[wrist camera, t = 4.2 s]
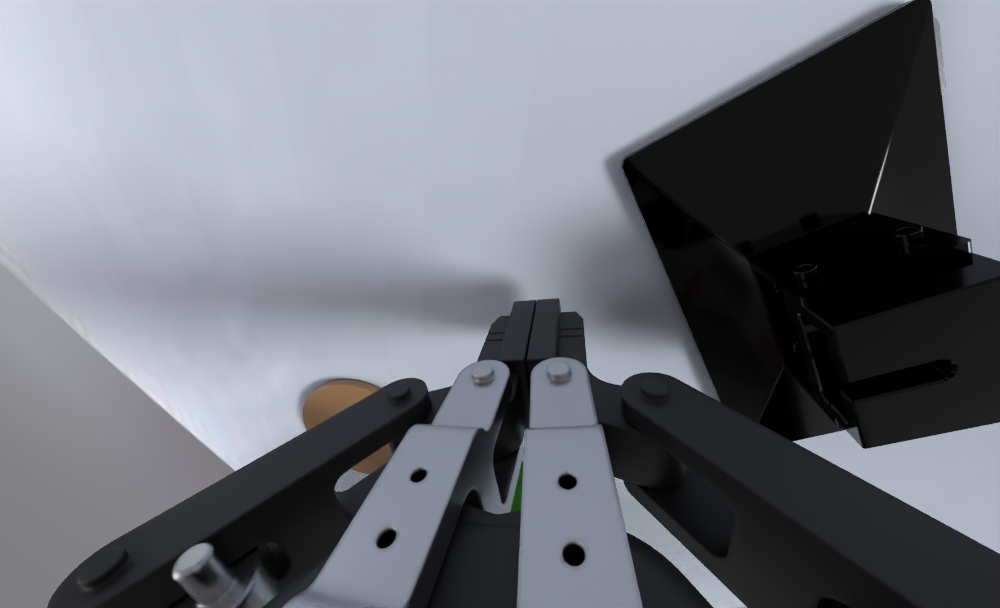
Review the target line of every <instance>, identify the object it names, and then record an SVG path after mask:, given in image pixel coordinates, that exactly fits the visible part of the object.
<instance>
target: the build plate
mask: <svg viewBox="0 0 1000 608" xmlns="http://www.w3.org/2000/svg"><path fill="white" fill-rule="evenodd" d="M945 87H946V85H945V75H944V66H943V57H942V47H941V38H940V28H939V22H938V20H937V19H935V18H934V17H933V13H932V4H931V1H930V0H912V1H909V2H907V3H905V4H903V5H901V6H899V7H897V8H895V9H893V10H892V11H890V12H888V13H886V14H884V15H883V16H881V17H879V18H877V19H875V20H873V21H872V22H870V23H868V24H866V25H864V26H862V27H861V28H859V29H857V30H855V31H853V32H852V33H850V34H848V35H846V36H844V37H842V38H841V39H839V40H837V41H835V42H833V43H831V44H830V45H828V46H826V47H824V48H822V49H821V50H819V51H817V52H815V53H813V54H811V55H810V56H808V57H806V58H804V59H802V60H800V61H799V62H797V63H795V64H793V65H791V66H790V67H788V68H786V69H784V70H782V71H780V72H779V73H777V74H775V75H773V76H771V77H769V78H768V79H766V80H764V81H762V82H760V83H759V84H757V85H755V86H753V87H751V88H749V89H748V90H746V91H744V92H742V93H740V94H738V95H737V96H735V97H733V98H731V99H729V100H728V101H726V102H724V103H722V104H720V105H718V106H717V107H715V108H713V109H711V110H709V111H707V112H706V113H704V114H702V115H700V116H698V117H697V118H695V119H693V120H691V121H689V122H687V123H686V124H684V125H682V126H680V127H678V128H676V129H675V130H673V131H671V132H669V133H667V134H666V135H664V136H662V137H660V138H658V139H656V140H655V141H653V142H651V143H649V144H647V145H645V146H644V147H642V148H640V149H638V150H636V151H635V152H633V153H631V154H629V155H627V156H626V157H624V159H623V160H622V162H621V169H622V171H623V173H624V176H625V178H626V181H627V183H628V185H629V188H630V190H631V192H632V195H633V197H634V200H635V202H636V204H637V207H638V209H639V211H640V214H641V216H642V219H643V221H644V223H645V226H646V228H647V230H648V233H649V235H650V238H651V240H652V242H653V245H654V247H655V249H656V252H657V254H658V257H659V259H660V261H661V264H662V266H663V268H664V271H665V273H666V276H667V278H668V280H669V283H670V285H671V287H672V290H673V292H674V294H675V297H676V299H677V302H678V304H679V306H680V309H681V311H682V313H683V316H684V318H685V321H686V323H687V325H688V328H689V330H690V332H691V335H692V337H693V340H694V342H695V344H696V347H697V349H698V351H699V354H700V356H701V359H702V361H703V363H704V366H705V368H706V370H707V373H708V375H709V378H710V380H711V382H712V385H713V387H714V389H715V392H716V394H717V397H718V399H719V401H720V403H722V404H724V405H726V406H728V407H729V408H731V409H733V410H735V411H737V412H739V413H741V414H742V415H744V416H746V417H748V418H750V419H752V420H753V421H755V422H757V423H759V424H761V425H763V426H764V427H766V428H768V429H770V430H772V431H774V432H776V433H777V434H779V435H781V436H783V437H785V438H787V439H788V440H790V441H796V440H801V439H805V438H810V437H814V436H819V435H824V434H828V433H833V432H837V431H842V430H846V431H847V432H848V433H849V434H850V435H851V436H852V437H853V438H854V439H855V440H856V441H857V442H858V444H859V445H860V446H861V447H862V448H865V449H867V448H872V447H877V446H882V445H887V444H892V443H897V442H902V441H907V440H912V439H917V438H922V437H927V436H932V435H937V434H942V433H948V432H953V431H958V430H963V429H968V428H973V427H978V426H983V425H988V424H993V423H998V422H1000V261H997V260H994V259H990V258H987V257H984V256H981V255H977V254H974V253H972V245H971V239H969V238H965V237H961V236H958V235H957V229H956V220H955V211H954V202H953V193H952V184H951V175H950V166H949V157H948V148H947V139H946V130H945V121H944V112H943V103H942V94H943V92H944V90H945Z"/></svg>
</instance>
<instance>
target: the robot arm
mask: <svg viewBox="0 0 1000 608" xmlns="http://www.w3.org/2000/svg"><path fill="white" fill-rule="evenodd" d="M524 430H525V435H524ZM523 437H524V448H523ZM386 444H388V446H389V448H390V451H391V453H392V457H391V459H390V460H389V461H388V462H387V463H385V464H384V465H382V466H381V467H380V468H378V469H377V470H375V471H374V472H372V473H371V474H370V475H368V476H367V477H365V478H364V479H362V480H361V481H360V482H358V483H357V484H355V485H354V486H353V487H351V488H350V489H348V490H346V491H343V492H336V491H334V488H335V484H336V482H337V480H338V479H339V478H340V476H341V475H342V474H344V473H345V472H346V471H348V470H349V469H351V468H352V467H354V466H355V465H357V464H358V463H360V462H361V461H363V460H364V459H366V458H367V457H369V456H370V455H372V454H373V453H375V452H376V451H378V450H379V449H381V448H382V447H383V446H385V445H386ZM523 454H524V456H523ZM522 459H523V479H522V501H521V510H519V511H514V512H510V511H511V507H512V502H513V498H514V494H515V489H516V485H517V480H518V476H519V472H520V467H521V463H522ZM614 477H616V478H619V479H622V480H623V481H624V484H625V487H626V488H627V490H628V491H629V493H630V494H631V495H632V496H633V497H634V498H635V499H636V500H637V501H638V502H639V503H640V504H641V505H642V506H644V507H645V508H646V509H647V510H648V511H649V512H650V513H651V514H652V515H653V516H654V517H655V518H656V519H657V520H658V521H659V522H660V523H661V524H662V525H663V526H664V527H665V528H666V529H667V530H668V531H669V532H670V533H671V534H672V535H673V536H674V537H675V538H677V539H678V540H679V541H680V542H681V543H682V544H683V545H684V546H685V547H686V548H687V549H688V550H689V551H690V552H691V553H692V554H693V555H694V556H695V557H696V558H697V559H698V560H699V561H700V562H701V563H702V564H703V565H704V566H705V567H706V568H707V569H709V570H710V571H711V572H712V573H713V574H714V575H715V576H716V577H717V578H718V579H719V580H720V581H721V582H722V583H723V584H724V585H725V586H726V587H727V588H728V589H729V590H730V591H731V592H732V593H733V594H734V595H735V596H736V597H737V598H738V599H739V600H741V601H742V602H743V603H744V604H745V605H746V606H747V607H748V608H1000V554H999V553H997V552H995V551H993V550H991V549H990V548H988V547H986V546H984V545H982V544H980V543H979V542H977V541H975V540H973V539H971V538H969V537H967V536H966V535H964V534H962V533H960V532H958V531H956V530H955V529H953V528H951V527H949V526H947V525H945V524H943V523H942V522H940V521H938V520H936V519H934V518H932V517H931V516H929V515H927V514H925V513H923V512H921V511H919V510H918V509H916V508H914V507H912V506H910V505H908V504H907V503H905V502H903V501H901V500H899V499H897V498H895V497H894V496H892V495H890V494H888V493H886V492H884V491H883V490H881V489H879V488H877V487H875V486H873V485H871V484H870V483H868V482H866V481H864V480H862V479H860V478H859V477H857V476H855V475H853V474H851V473H849V472H848V471H846V470H844V469H842V468H840V467H838V466H836V465H835V464H833V463H831V462H829V461H827V460H825V459H824V458H822V457H820V456H818V455H816V454H814V453H812V452H811V451H809V450H807V449H805V448H803V447H801V446H800V445H798V444H796V443H794V442H792V441H790V440H788V439H787V438H785V437H783V436H781V435H779V434H777V433H776V432H774V431H772V430H770V429H768V428H766V427H764V426H763V425H761V424H759V423H757V422H755V421H753V420H752V419H750V418H748V417H746V416H744V415H742V414H741V413H739V412H737V411H735V410H733V409H731V408H729V407H728V406H726V405H724V404H722V403H720V402H718V401H717V400H715V399H713V398H711V397H709V396H707V395H705V394H704V393H702V392H700V391H698V390H696V389H694V388H693V387H691V386H689V385H687V384H685V383H683V382H681V381H680V380H678V379H676V378H674V377H671V376H668V375H665V374H661V373H651V372H649V373H640V374H636V375H633V376H631V377H629V378H628V379H626V380H625V381H624V383H623V384H622V386H620V385H615V384H610V383H607V382H604V381H602V380H599V379H598V378H596V377H595V376H593V375H592V374H591V373H590V371H589V370H588V368H587V361H586V349H585V337H584V324H583V318H582V317H581V316H580V315H579V314H578V313H577V312H561V308H560V300H559V298H557V299H544V300H537V301H536V300H531V301H518V302H514V305H513V308H512V312H511V315H510V316H501V317H499V318H498V319H497V320H496V321H495V322H494V323H493V324H492V325H491V327H490V330H489V332H488V335H487V338H486V342H485V343H484V345H483V348H482V350H481V353H480V356H479V358H478V361H477V362H475V363H473V364H471V365H469V366H467V367H466V368H464V369H463V370H462V371H461V372H460V373H459V375H458V377H457V378H456V380H455V382H454V384H453V386H450V387H447V388H443V389H439V390H435V391H430V392H428V389H427V386H426V384H425V382H424V381H422V380H420V379H416V378H406V379H401V380H398V381H395V382H392V383H390V384H388V385H387V386H385V387H383V388H381V389H380V390H378V391H376V392H374V393H373V394H371V395H369V396H367V397H366V398H364V399H362V400H360V401H359V402H357V403H355V404H353V405H352V406H350V407H348V408H346V409H344V410H343V411H341V412H339V413H337V414H336V415H334V416H332V417H330V418H329V419H327V420H325V421H323V422H322V423H320V424H318V425H316V426H315V427H313V428H311V429H309V430H308V431H306V432H304V433H302V434H300V435H299V436H297V437H295V438H293V439H292V440H290V441H288V442H286V443H285V444H283V445H281V446H279V447H278V448H276V449H274V450H272V451H271V452H269V453H267V454H265V455H264V456H262V457H260V458H258V459H257V460H255V461H253V462H251V463H249V464H248V465H246V466H244V467H242V468H241V469H239V470H237V471H235V472H234V473H232V474H230V475H228V476H227V477H225V478H223V479H222V480H220V481H218V482H216V483H214V484H213V485H211V486H209V487H207V488H205V489H204V490H202V491H200V492H198V493H197V494H195V495H193V496H192V497H190V498H188V499H186V500H184V501H183V502H181V503H179V504H177V505H176V506H174V507H172V508H170V509H169V510H167V511H165V512H163V513H162V514H160V515H158V516H156V517H154V518H153V519H151V520H149V521H148V522H146V523H144V524H142V525H140V526H139V527H137V528H135V529H133V530H132V531H130V532H128V533H126V534H125V535H123V536H121V537H119V538H118V539H116V540H114V541H112V542H111V543H109V544H107V545H106V546H104V547H103V548H101V549H100V550H99V551H97V552H95V553H94V554H93V555H91V556H90V557H89V558H88V559H86V560H85V561H84V562H83V563H81V564H80V565H79V566H78V567H77V568H76V569H75V570H74V571H73V572H72V573H71V574H70V575H69V576H68V577H67V578H66V579H65V580H64V581H63V582H62V584H61V585H60V586H59V587H58V588H57V590H56V591H55V593H54V594H53V596H52V598H51V599H50V602H49V604H48V607H47V608H713V607H712V606H711V605H710V604H709V602H708V601H707V600H706V599H705V598H704V597H703V596H702V595H701V594H700V592H699V591H698V590H697V589H696V588H695V587H694V586H693V585H692V584H691V583H690V581H689V580H688V579H687V578H686V577H685V576H684V575H683V574H682V573H681V572H680V571H679V570H678V569H677V568H676V567H675V566H674V565H673V564H672V563H671V562H670V561H669V560H668V559H666V558H665V557H664V556H663V555H662V554H660V553H659V552H658V551H656V550H655V549H654V548H652V547H651V546H650V545H648V544H646V543H645V542H643V541H641V540H640V539H638V538H636V537H635V536H633V535H631V534H628V533H626V529H625V525H624V520H623V516H622V511H621V507H620V502H619V498H618V493H617V489H616V484H615V480H614Z"/></svg>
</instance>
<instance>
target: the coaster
mask: <svg viewBox="0 0 1000 608" xmlns="http://www.w3.org/2000/svg"><path fill="white" fill-rule="evenodd" d="M378 390H380V388H378V387H376V386H374V385H371V384H368V383H365V382H361V381H357V380H347V379H341V380H334V381H329V382H327V383H324V384H322V385H320V386H319V387H317V388H316V389H315V390H314V391H313V392H312V393H311V394H310V395H309V397H308V398H307V400H306V402H305V404H304V408H303V420H304V424H305V427H306V429H307V431H308V430H309V429H311V428H313V427H315V426H316V425H318V424H320V423H322V422H323V421H325V420H327V419H329V418H330V417H332V416H334V415H336V414H337V413H339V412H341V411H343V410H344V409H346V408H348V407H350V406H352V405H353V404H355V403H357V402H359V401H360V400H362V399H364V398H366V397H367V396H369V395H371V394H373V393H374V392H376V391H378ZM391 457H392V453H391V451H390V448H389V446H388V444H386V445H385V446H383V447H382V448H381V449H379V450H378V451H376V452H375V453H373V454H372V455H370V456H369V457H367V458H366V459H364V460H363V461H361V462H360V463H358V464H357V465H355V466H354V467H352V468H351V469H353V470H355V471H358V472H362V473H366V474H371V473H372V472H374V471H375V470H377V469H378V468H380V467H381V466H382V465H384V464H385V463H387V462H388V461H389V460H390V459H391Z"/></svg>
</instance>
